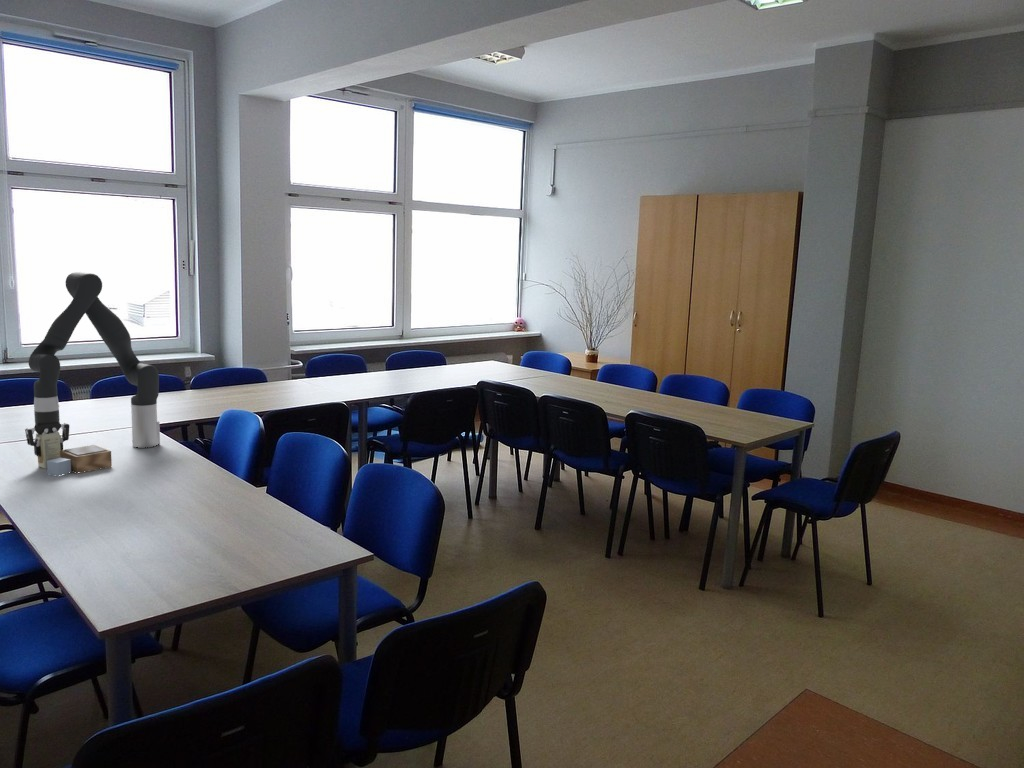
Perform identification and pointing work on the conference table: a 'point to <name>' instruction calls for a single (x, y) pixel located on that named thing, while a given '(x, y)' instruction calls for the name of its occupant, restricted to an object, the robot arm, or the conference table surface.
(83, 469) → the walnut base
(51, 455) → the skincare box
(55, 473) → the slate cube
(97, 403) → the conference table surface
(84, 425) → the conference table surface
